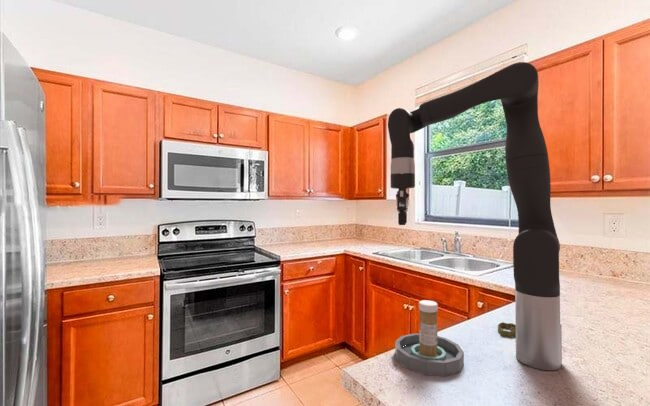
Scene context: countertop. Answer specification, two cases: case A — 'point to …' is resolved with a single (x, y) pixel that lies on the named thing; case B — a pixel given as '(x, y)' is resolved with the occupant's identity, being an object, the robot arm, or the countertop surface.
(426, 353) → the sprinkles bottle
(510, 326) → the cookie cutter
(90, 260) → the countertop surface
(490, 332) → the countertop surface
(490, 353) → the countertop surface
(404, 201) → the robot arm
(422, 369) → the grey ring dish
